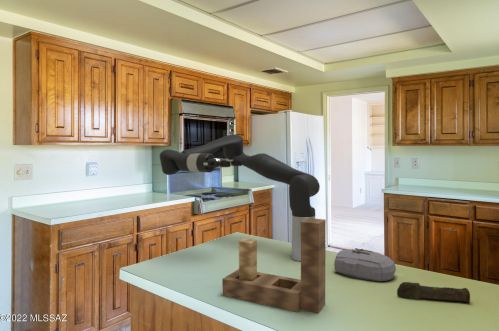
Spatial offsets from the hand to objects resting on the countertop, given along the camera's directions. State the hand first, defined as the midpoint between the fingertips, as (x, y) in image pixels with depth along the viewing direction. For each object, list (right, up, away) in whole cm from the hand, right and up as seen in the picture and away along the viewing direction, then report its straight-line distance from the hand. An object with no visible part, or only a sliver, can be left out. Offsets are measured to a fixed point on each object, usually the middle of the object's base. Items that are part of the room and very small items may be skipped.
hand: (236, 163), depth 135 cm
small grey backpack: (+45, -39, -11) cm, 61 cm away
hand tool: (+58, -40, -32) cm, 77 cm away
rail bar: (+5, -38, -27) cm, 47 cm away
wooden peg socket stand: (+12, -40, -31) cm, 51 cm away
